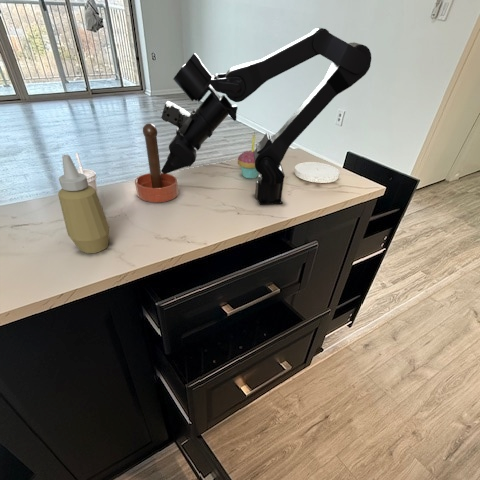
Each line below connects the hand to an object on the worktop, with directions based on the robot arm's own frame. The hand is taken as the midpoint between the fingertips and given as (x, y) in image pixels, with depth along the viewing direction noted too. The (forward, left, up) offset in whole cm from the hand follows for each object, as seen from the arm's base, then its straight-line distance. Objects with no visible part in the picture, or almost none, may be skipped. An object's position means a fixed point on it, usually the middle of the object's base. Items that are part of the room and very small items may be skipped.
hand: (165, 166), depth 82 cm
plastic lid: (-47, -10, -8) cm, 49 cm away
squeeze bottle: (+17, +24, -8) cm, 31 cm away
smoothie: (+19, +9, -8) cm, 23 cm away
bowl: (+3, -1, -8) cm, 8 cm away
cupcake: (-26, -13, -8) cm, 30 cm away
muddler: (+3, -1, -7) cm, 8 cm away
